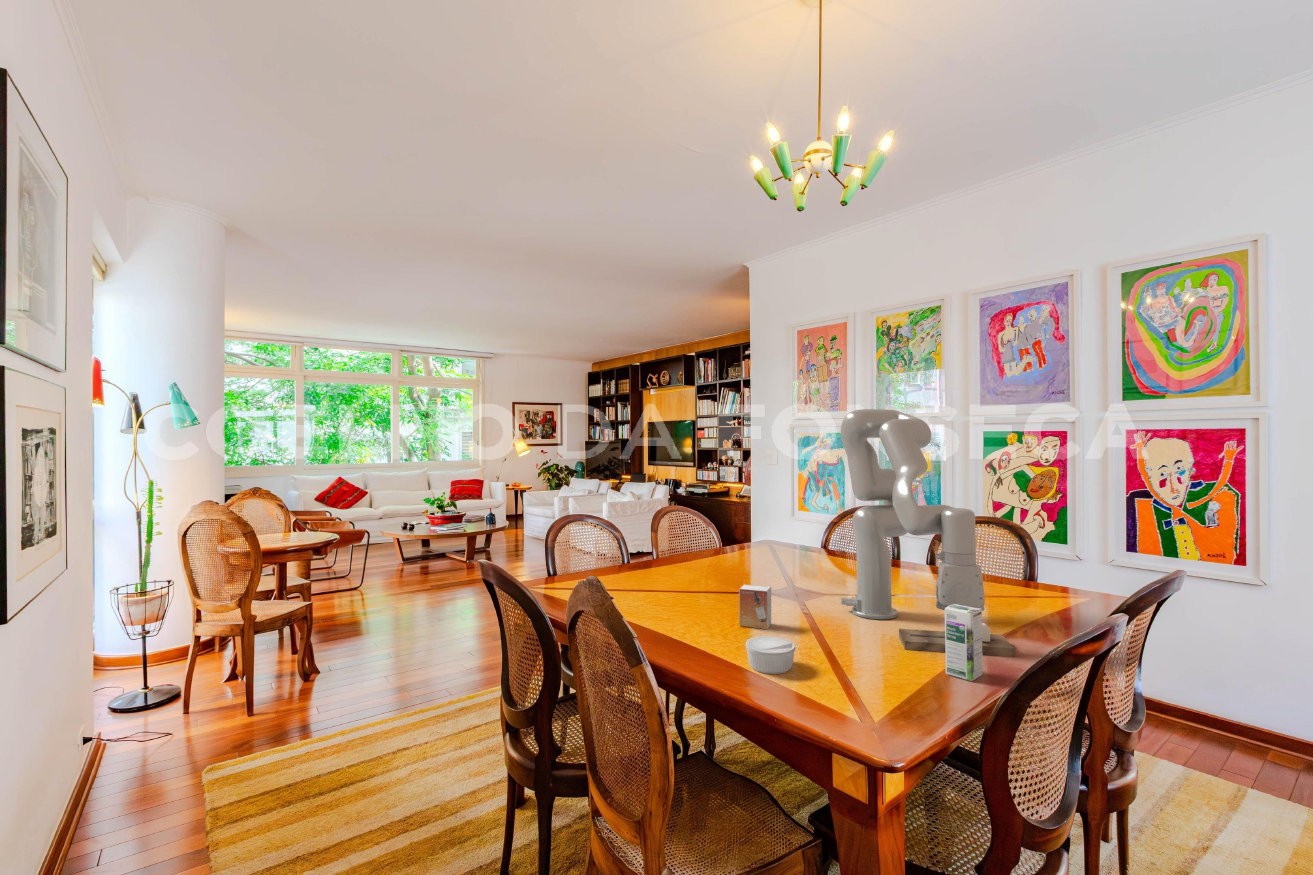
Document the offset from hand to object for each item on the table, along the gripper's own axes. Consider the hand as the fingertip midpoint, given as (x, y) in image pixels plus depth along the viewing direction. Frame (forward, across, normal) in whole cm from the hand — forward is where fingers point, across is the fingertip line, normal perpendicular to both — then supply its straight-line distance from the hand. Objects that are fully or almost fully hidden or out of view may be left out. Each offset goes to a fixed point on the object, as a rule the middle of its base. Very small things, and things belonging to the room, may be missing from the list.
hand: (960, 633), depth 147 cm
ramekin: (+4, -44, -23) cm, 50 cm away
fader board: (+3, -2, 0) cm, 4 cm away
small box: (+3, -50, +7) cm, 51 cm away
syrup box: (+3, -3, -19) cm, 20 cm away
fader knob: (+1, +4, 0) cm, 4 cm away
